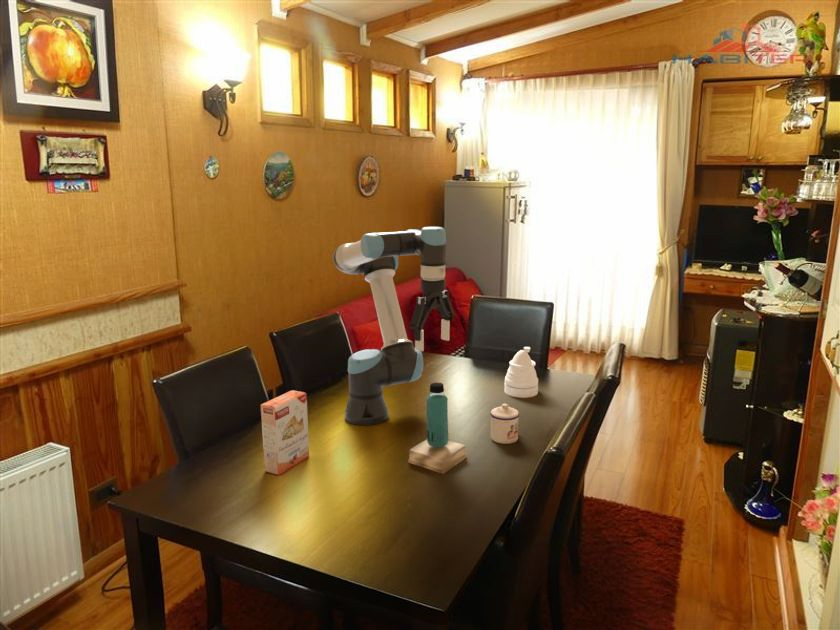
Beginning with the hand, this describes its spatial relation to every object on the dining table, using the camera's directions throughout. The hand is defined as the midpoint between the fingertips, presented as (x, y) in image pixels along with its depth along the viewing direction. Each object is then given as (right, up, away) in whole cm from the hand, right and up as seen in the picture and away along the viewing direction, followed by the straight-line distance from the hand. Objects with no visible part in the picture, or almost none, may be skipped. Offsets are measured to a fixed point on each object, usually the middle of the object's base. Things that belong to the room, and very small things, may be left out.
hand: (432, 345), depth 196 cm
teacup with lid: (+24, -30, +6) cm, 39 cm away
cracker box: (-43, -35, -10) cm, 56 cm away
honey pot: (+35, -21, +47) cm, 62 cm away
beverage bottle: (+1, -30, -10) cm, 32 cm away
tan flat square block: (+1, -34, -9) cm, 35 cm away
